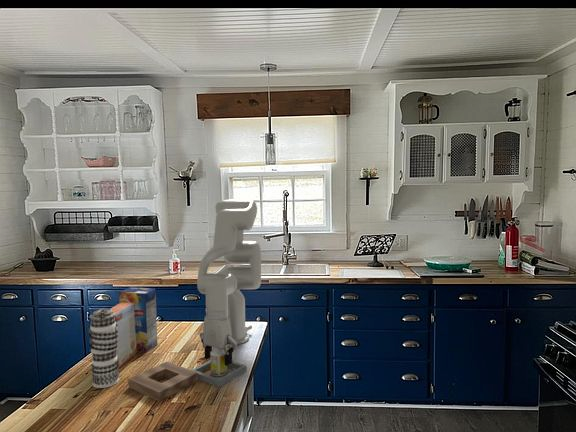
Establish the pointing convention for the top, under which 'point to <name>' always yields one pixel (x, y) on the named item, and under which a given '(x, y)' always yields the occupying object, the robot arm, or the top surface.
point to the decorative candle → (104, 348)
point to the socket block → (161, 391)
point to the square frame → (219, 382)
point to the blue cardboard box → (143, 316)
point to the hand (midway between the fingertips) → (218, 361)
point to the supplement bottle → (218, 362)
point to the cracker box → (125, 331)
